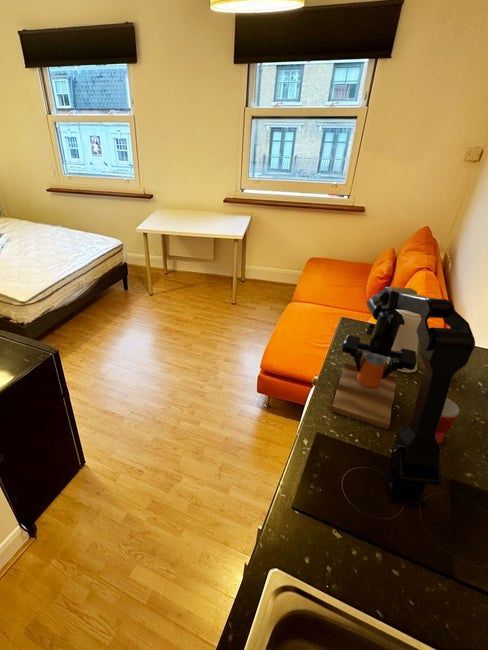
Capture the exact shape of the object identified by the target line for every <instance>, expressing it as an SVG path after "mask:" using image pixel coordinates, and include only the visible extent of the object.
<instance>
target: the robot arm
mask: <svg viewBox="0 0 488 650" xmlns="http://www.w3.org/2000/svg"><path fill="white" fill-rule="evenodd" d="M366 308H367V309H368V310H369V313H370V314H371V316H372V318H373V319H374V320H375V321H376V322H375V324H374V323H371V322H370V323H368V325H367V328H366V331H365V335H368V336H370V337H369V343H368V344H367V343H364V342H360V341H361V337H358V336H354V335H350V334H347V335H345V337H344V340H343V343H342V346H341V351H342V353H346V354H349V356H350V357H351V358H352V357H353V360H354V362H355V365H356V367H357V372H359V370H360V366H361V363H362V360H363V352H365V353H373V354H377V355H381V356H384V357H385V358H387V357H390V358H391V359H390V362H389V363H388V364H387V366H386V369H385V372H384V374H383V377H382V379H384V378H385V377H387V376H388V375H389V374H392V373H393V372H395V371H398V370H397V369H403V368H406V369H410V370H413V369H414V368H415V366H416V363H417V364H418V352H417V353H416V351H412V350H408V349H404V348H402V349H401V351H392V350H391V349H392V346H393V344H394V341H395V338H396V336H397V333H398V330H399V328H400V325H404V324H405V321H404V319H403V316H402V314H401V313H400V312H398V311H397V310H407V311H410V312H413V313H417V314H420V316H421V321H420V323H419V325H418V328H417V330H416V332H417V335H418V339H419V341H418V344H419V356H420V358H421V360H422V362H423V365H424V370H423V374H422V378H421V382H420V385H419V389H418V392H417V395H416V396H417V398H416V401H415V404H414V407H413V412H412V415H411V419H410V423H409V426H408V427H407V428H403V427H400V428H398V430H397V432H396V437H395V440H394V442H393V443H394V445H393V446H392V448H391V449H392V450H391V454H390V459H389V466H390V470H389V474H390V475H386V476H385V480H386V484H387V487H388V491H389V493H390V496H391V499H392V501H393V502H395V503H402V504H408V505H415V506H424V504H425V503H424V500H423V497H422V494H423V492H424V490H425V489H426V485H434V486H438V485H441V484H442V468H441V467H442V466H441V465H442V464H441V451H442V449H441V446H440V443H439V444H438V442H437V439H436V432H437V429H438V426H439V422H440V419H441V415H442V412H443V409H444V405H445V402H446V398H448V395H449V392H450V388H451V386H452V385H451V384H452V381H453V380H452V378H453V375H454V374H455V373H456V372H457V371H459V370H460V369H461V368H462V367H464V368H465V366H467V364H468V363H469V360H470V358H471V356H472V354H473V352H474V349H475V348H476V339H475V337H474V334H473V331H472V329H471V326H470V323H469V322H468V321H467V320H466V318H464V317H463V316H462V315H461V314H460V313H459V312H457V311H456V308H455V306H454V303H453V302H452V301H451V300H448V299H447V298H436V297H432V296H426V295H422V294H418V292H417V290H415V289H414V288H411V287H395V286H385V287H383V289H382V290H381V291H380V290H379V291H377V293H376V294H375V295H372V296H371V297H370V298H369V299H368V300H367V301H366ZM429 318H431V319H442V320H443V322H444V323H445V324H446V325H447V326H448V327H436V326H435V327H433V326H432V327H429V323H428V320H429Z"/></svg>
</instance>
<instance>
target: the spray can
mask: <svg viewBox="0 0 488 650" xmlns="http://www.w3.org/2000/svg"><path fill="white" fill-rule="evenodd" d="M397 311H398V312H400V313H401V314H402V316H403V319H404V321H405V324H404V325H400V328H399V330H398V333H397V336H396V338H395V341H394V344H393V346H392V349H391V350H392V351H401V349H402V348H404V349H408V350H412V351H416V353H417V354H418V345H419V339H418V335H417V332H416V330H417V328H418V325H419V323H420V321H421V316H420V314H417V313H413V312H410V311H407V310H397ZM386 359H387V360H388V363H389V362H390V359H391V358H390V357H386ZM417 370H418V362H417V363H416V366H415V368H414V369H413V370H410V369H406V368H403V369H397V370H396V371H398V372H402V373H414V372H416V371H417Z"/></svg>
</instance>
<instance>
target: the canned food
mask: <svg viewBox="0 0 488 650" xmlns="http://www.w3.org/2000/svg"><path fill="white" fill-rule="evenodd" d="M459 414H460V407H459V406H458V405H457V403H455V401H453V400H452V399H450V398H448V397H447V398H446V402H445V405H444V409H443V412H442V415H441V419H440V422H439V426H438V429H437V432H436V439H437V442H438V444H439V445H440V444H441V443H442V442H444V440H445V438H446V437H447V436H448V433H449V431H450V430H451V428H452V426H453V424H454V423H455V421H456V419H457V418H458V415H459Z"/></svg>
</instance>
